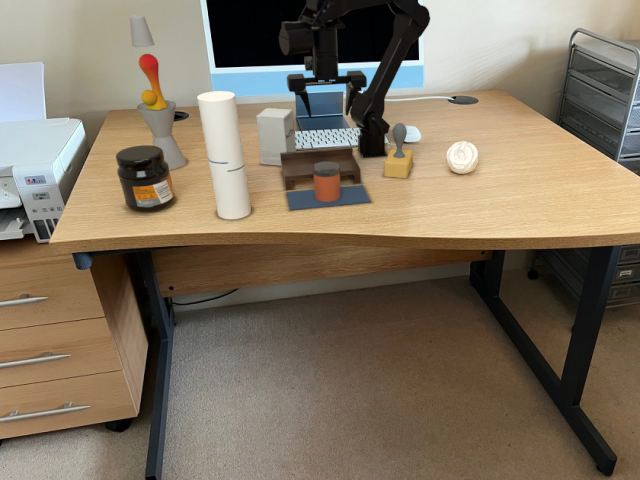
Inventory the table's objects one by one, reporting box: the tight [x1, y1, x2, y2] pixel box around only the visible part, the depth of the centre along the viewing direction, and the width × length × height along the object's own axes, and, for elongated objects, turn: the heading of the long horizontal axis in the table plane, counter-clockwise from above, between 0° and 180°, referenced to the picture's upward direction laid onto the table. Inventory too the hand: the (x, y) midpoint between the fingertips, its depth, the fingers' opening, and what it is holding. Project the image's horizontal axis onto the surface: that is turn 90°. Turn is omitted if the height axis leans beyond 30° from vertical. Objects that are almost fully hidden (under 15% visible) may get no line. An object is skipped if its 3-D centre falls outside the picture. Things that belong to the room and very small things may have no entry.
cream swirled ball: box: [445, 140, 480, 175], centre depth 143 cm, size 8×8×8 cm
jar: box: [312, 162, 341, 202], centre depth 130 cm, size 6×6×7 cm
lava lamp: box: [129, 14, 187, 171], centre depth 139 cm, size 9×9×35 cm
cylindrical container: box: [196, 90, 252, 220], centre depth 119 cm, size 7×7×25 cm
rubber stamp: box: [383, 122, 414, 179], centre depth 143 cm, size 10×6×12 cm, turn 169°
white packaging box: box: [255, 107, 297, 166], centre depth 148 cm, size 7×7×13 cm
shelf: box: [280, 146, 362, 191], centre depth 141 cm, size 18×11×5 cm, turn 103°
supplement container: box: [115, 144, 176, 213], centre depth 126 cm, size 10×10×12 cm
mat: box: [286, 184, 371, 211], centre depth 132 cm, size 18×9×1 cm, turn 103°
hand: (328, 116), depth 144 cm, fingers open, 9 cm apart
